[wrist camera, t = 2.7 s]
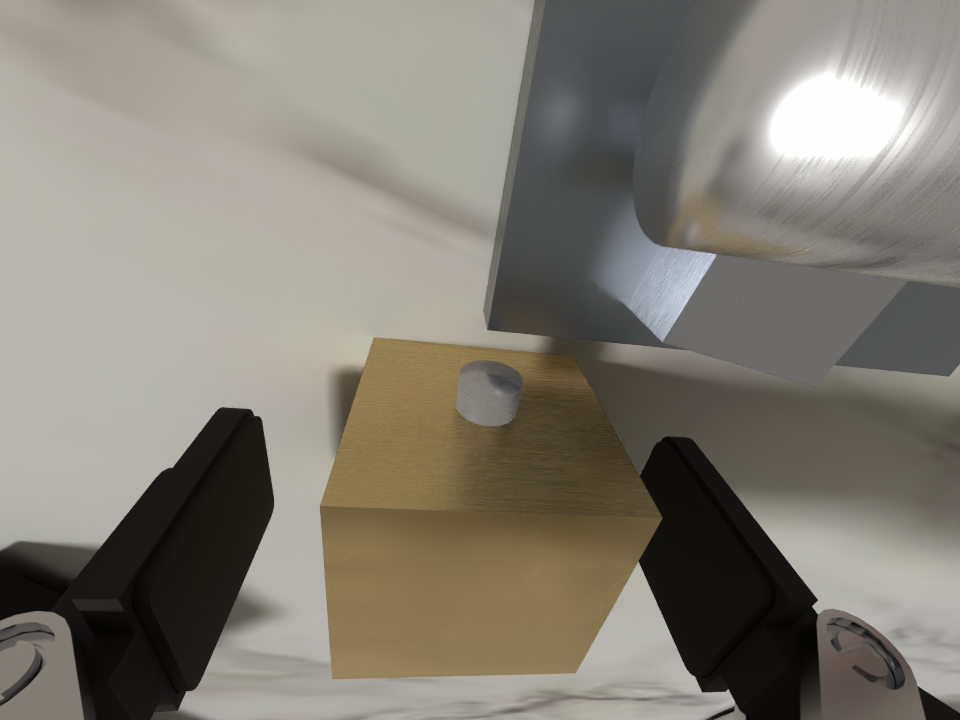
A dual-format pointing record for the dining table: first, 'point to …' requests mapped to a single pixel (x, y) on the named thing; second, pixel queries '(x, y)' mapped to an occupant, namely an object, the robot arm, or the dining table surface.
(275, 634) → the dining table surface
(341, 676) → the block
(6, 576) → the toy
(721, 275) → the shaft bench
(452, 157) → the dining table surface
